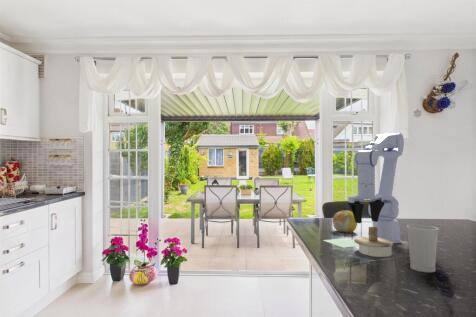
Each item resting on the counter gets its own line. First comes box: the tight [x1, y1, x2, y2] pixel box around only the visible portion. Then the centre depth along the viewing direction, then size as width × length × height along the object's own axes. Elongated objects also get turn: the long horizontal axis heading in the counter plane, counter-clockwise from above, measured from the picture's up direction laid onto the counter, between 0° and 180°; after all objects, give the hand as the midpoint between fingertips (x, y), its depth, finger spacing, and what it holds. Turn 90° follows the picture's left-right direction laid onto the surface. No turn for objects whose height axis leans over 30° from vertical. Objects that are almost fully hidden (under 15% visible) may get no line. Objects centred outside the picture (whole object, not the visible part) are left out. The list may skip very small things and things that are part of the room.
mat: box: [322, 237, 359, 249], centre depth 121 cm, size 12×12×1 cm
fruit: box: [332, 210, 358, 234], centre depth 141 cm, size 10×11×10 cm
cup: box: [406, 224, 439, 273], centre depth 92 cm, size 8×8×12 cm
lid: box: [353, 226, 394, 247], centre depth 108 cm, size 12×12×5 cm
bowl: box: [358, 244, 393, 258], centre depth 107 cm, size 10×10×4 cm
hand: (366, 222), depth 112 cm, fingers open, 7 cm apart
